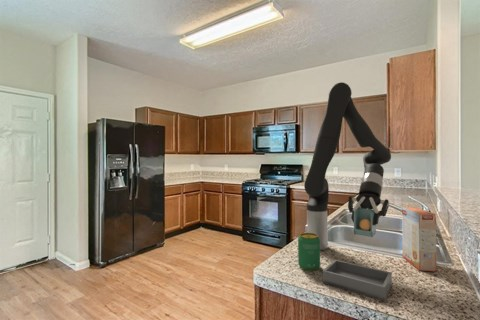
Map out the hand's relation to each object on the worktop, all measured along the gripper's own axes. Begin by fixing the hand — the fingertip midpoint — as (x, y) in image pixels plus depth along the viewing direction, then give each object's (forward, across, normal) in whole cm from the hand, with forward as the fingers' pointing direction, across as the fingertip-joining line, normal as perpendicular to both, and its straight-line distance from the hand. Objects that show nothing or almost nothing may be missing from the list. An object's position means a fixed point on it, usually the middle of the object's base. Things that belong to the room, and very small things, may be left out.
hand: (363, 222), depth 90 cm
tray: (+20, 0, +5) cm, 21 cm away
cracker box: (-2, +15, +27) cm, 31 cm away
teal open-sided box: (+2, 0, +4) cm, 5 cm away
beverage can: (+18, -18, +8) cm, 26 cm away
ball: (0, 0, +1) cm, 1 cm away
